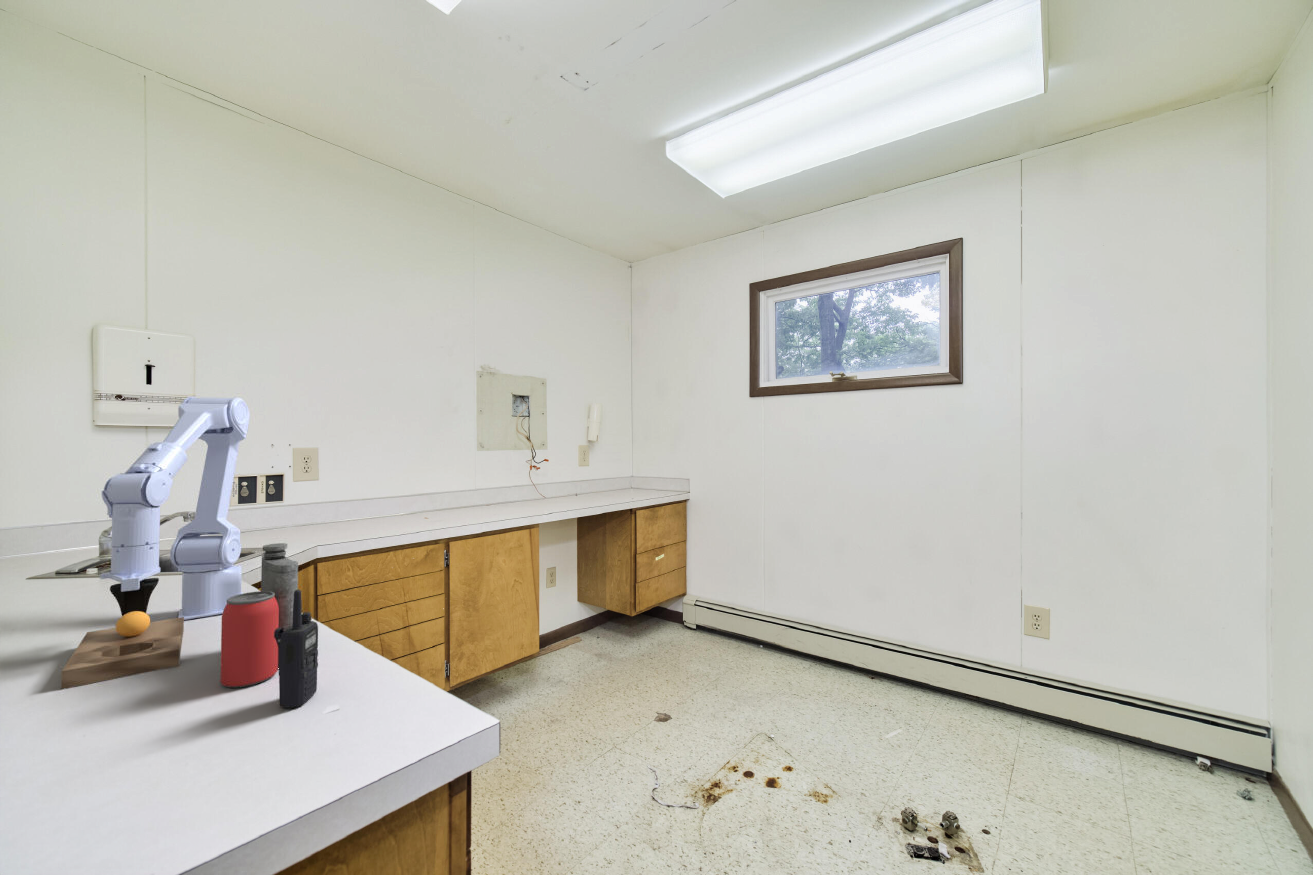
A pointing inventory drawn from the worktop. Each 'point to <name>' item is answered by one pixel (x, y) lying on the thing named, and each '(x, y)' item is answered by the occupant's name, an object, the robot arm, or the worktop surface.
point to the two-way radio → (297, 657)
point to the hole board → (124, 653)
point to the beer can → (249, 639)
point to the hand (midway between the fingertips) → (134, 625)
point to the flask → (280, 581)
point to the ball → (132, 624)
